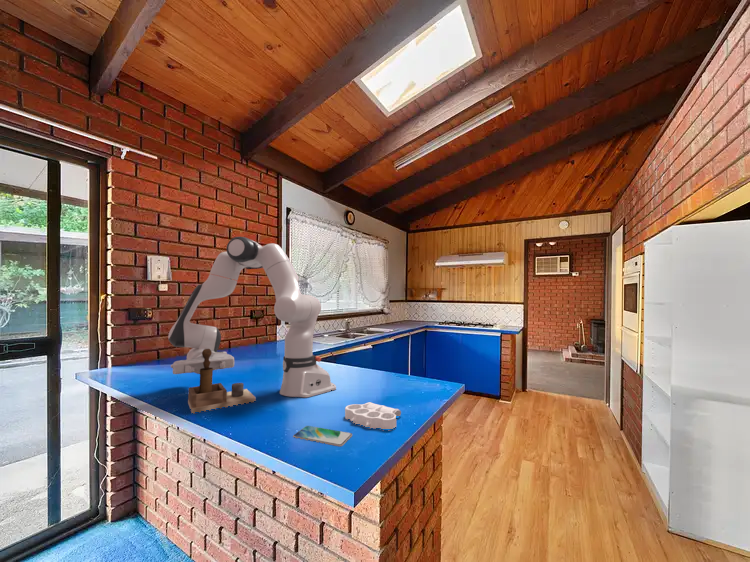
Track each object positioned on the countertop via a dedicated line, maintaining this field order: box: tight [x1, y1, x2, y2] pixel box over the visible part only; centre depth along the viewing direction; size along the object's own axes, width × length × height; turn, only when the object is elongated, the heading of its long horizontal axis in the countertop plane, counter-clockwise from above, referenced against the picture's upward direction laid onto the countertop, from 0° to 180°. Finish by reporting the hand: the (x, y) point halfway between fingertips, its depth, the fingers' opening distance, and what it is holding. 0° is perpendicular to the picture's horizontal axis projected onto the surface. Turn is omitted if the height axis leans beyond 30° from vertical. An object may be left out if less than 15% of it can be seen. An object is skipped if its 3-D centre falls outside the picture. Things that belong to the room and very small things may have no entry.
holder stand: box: [187, 382, 257, 414], centre depth 112 cm, size 20×13×6 cm, turn 126°
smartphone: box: [292, 425, 353, 447], centre depth 85 cm, size 7×1×15 cm
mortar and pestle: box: [197, 349, 214, 394], centre depth 109 cm, size 7×6×18 cm
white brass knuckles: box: [344, 402, 402, 430], centre depth 96 cm, size 3×18×15 cm
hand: (207, 368), depth 110 cm, fingers open, 8 cm apart
